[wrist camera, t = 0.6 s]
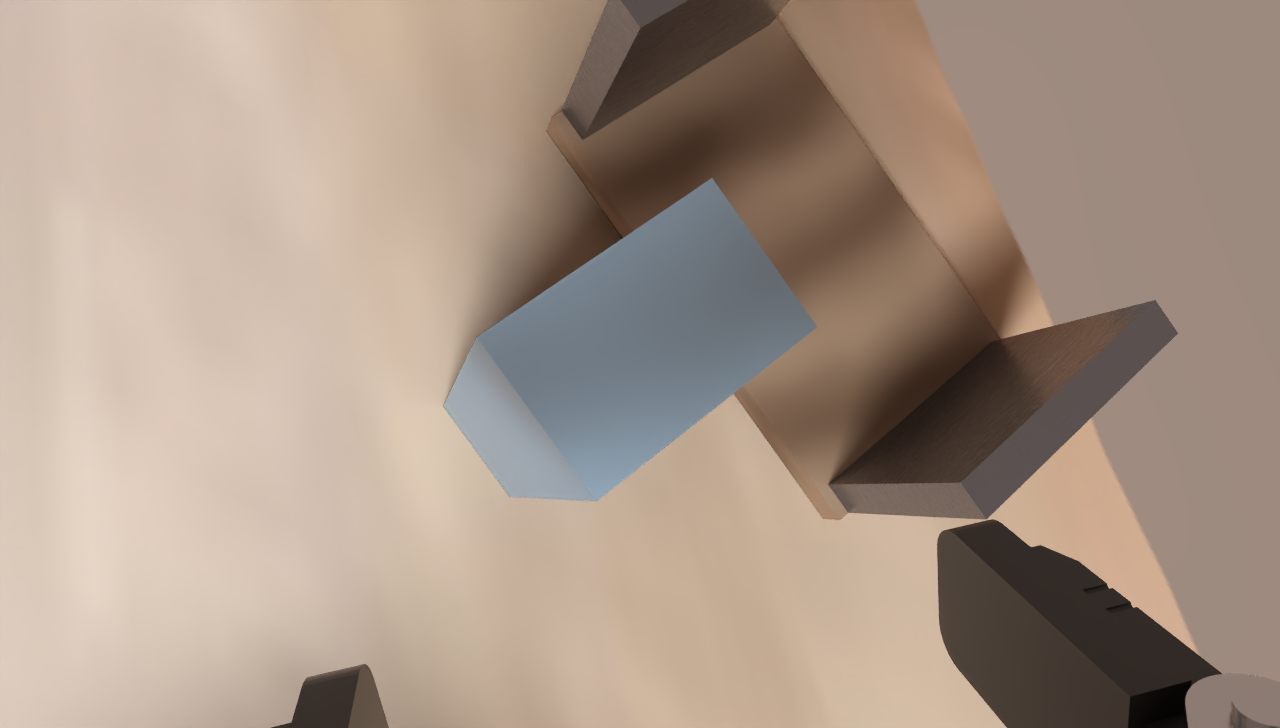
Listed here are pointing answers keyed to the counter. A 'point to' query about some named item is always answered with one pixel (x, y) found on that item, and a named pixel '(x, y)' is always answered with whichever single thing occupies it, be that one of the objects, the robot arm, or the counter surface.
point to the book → (625, 353)
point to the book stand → (798, 246)
